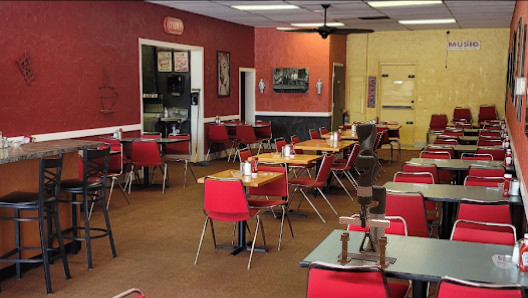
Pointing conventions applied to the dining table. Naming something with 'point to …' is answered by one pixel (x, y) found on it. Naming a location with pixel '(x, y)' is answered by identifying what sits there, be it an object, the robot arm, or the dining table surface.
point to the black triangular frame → (370, 243)
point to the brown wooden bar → (368, 222)
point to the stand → (346, 259)
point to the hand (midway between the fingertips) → (364, 226)
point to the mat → (368, 257)
